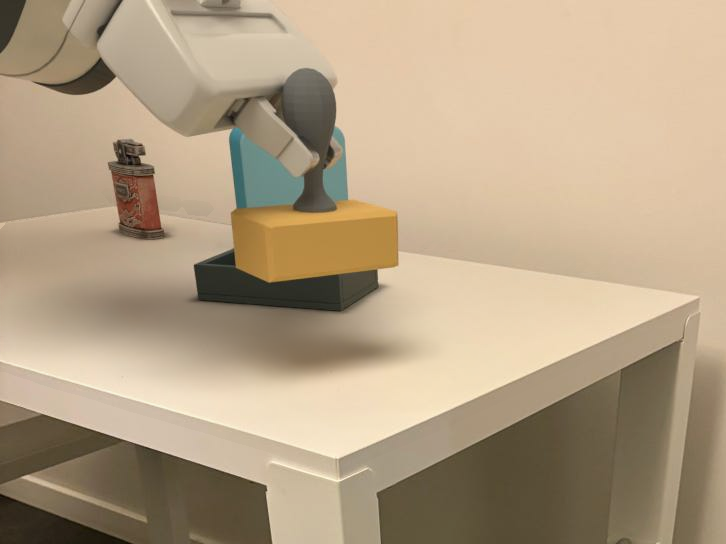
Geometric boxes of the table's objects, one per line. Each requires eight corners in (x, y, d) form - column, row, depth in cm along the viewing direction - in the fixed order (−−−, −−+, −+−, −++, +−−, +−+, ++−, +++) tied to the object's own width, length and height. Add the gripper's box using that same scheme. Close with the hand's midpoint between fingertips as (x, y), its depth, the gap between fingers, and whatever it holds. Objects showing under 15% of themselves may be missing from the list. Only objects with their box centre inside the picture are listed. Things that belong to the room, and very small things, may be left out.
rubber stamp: (359, 252, 73) (352, 65, 66) (401, 267, 69) (397, 70, 62) (234, 266, 68) (213, 65, 61) (271, 283, 64) (253, 70, 57)
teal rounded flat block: (336, 233, 118) (329, 121, 112) (351, 239, 115) (344, 124, 109) (239, 241, 113) (226, 124, 107) (251, 248, 110) (239, 127, 104)
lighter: (113, 230, 118) (96, 137, 113) (139, 227, 120) (124, 136, 115) (144, 240, 113) (128, 143, 108) (171, 236, 115) (157, 141, 110)
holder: (341, 311, 87) (338, 274, 85) (197, 300, 90) (193, 264, 88) (378, 286, 95) (377, 252, 93) (246, 277, 98) (242, 244, 96)
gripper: (216, 26, 72) (348, 181, 75) (43, 24, 55) (223, 224, 58) (267, -48, 68) (403, 118, 72) (100, -73, 52) (287, 144, 55)
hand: (321, 166), depth 65 cm, fingers closed on rubber stamp, 3 cm apart
